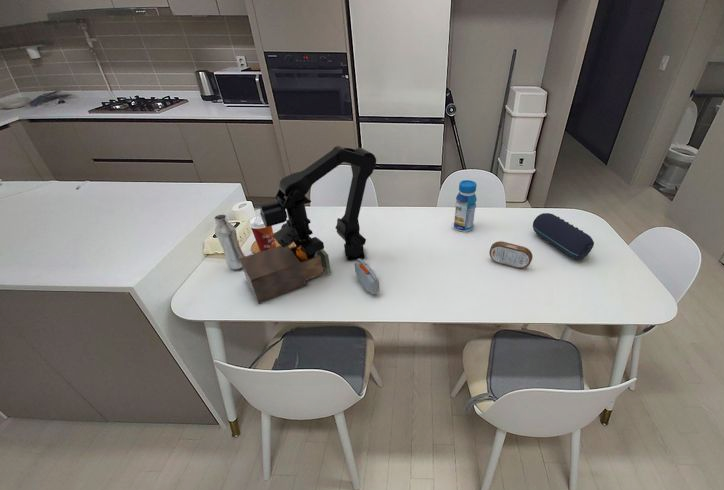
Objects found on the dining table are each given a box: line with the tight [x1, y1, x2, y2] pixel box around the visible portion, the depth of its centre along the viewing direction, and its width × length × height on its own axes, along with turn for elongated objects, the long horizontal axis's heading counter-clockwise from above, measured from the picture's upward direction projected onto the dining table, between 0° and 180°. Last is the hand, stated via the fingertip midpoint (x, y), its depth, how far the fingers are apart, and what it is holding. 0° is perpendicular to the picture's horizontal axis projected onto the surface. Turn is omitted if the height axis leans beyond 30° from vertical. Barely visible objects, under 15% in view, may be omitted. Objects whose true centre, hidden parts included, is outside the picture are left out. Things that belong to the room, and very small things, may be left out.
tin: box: [489, 240, 534, 269], centre depth 125 cm, size 15×3×8 cm, turn 65°
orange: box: [296, 245, 315, 261], centre depth 119 cm, size 6×6×7 cm
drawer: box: [289, 245, 332, 281], centre depth 120 cm, size 16×12×8 cm
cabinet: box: [239, 245, 307, 304], centre depth 115 cm, size 16×14×10 cm
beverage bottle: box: [453, 179, 478, 233], centre depth 143 cm, size 8×8×20 cm
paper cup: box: [248, 215, 277, 252], centre depth 129 cm, size 8×8×14 cm
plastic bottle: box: [214, 214, 246, 270], centre depth 120 cm, size 6×7×20 cm
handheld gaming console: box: [353, 258, 381, 295], centre depth 115 cm, size 14×3×8 cm, turn 32°
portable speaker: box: [532, 212, 595, 261], centre depth 135 cm, size 25×10×10 cm, turn 26°
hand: (306, 257), depth 120 cm, fingers closed on orange, 6 cm apart
